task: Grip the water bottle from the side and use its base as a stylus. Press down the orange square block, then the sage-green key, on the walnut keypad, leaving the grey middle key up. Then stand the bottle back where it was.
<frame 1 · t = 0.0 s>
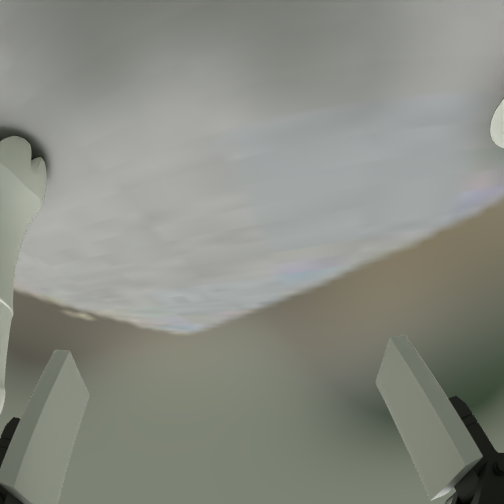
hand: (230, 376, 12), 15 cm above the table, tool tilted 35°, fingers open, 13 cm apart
water bottle: (16, 157, 19), on the table
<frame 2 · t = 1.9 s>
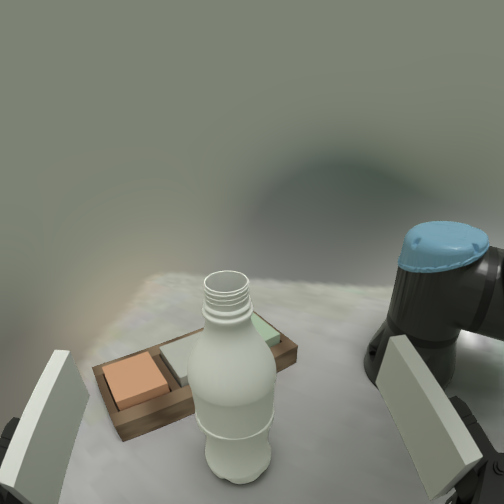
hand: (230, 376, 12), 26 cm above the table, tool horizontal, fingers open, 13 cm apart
water bottle: (239, 465, 32), on the table
key middle: (193, 359, 44), point 4 cm above the table, slide at 0.0 cm
keypad: (196, 377, 45), on the table
key sage: (246, 337, 48), point 4 cm above the table, slide at 0.0 cm
orange square block: (135, 382, 39), point 4 cm above the table, slide at 0.0 cm
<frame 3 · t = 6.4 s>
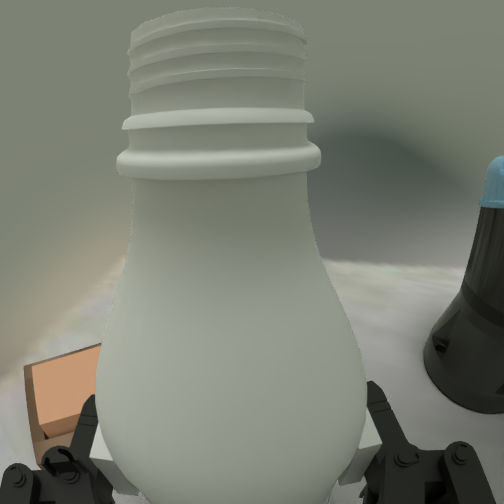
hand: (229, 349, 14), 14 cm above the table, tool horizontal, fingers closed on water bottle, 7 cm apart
keypad: (176, 388, 28), on the table
orange square block: (77, 393, 22), point 4 cm above the table, slide at 0.0 cm
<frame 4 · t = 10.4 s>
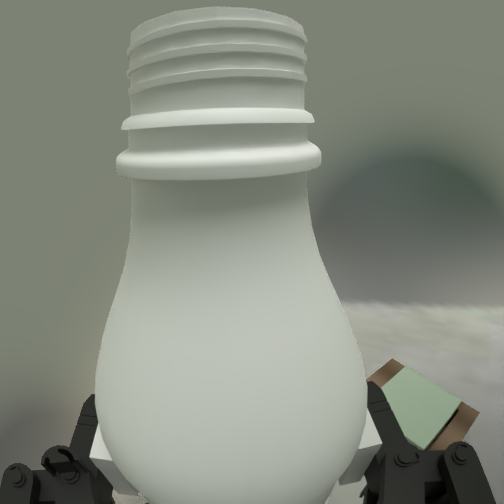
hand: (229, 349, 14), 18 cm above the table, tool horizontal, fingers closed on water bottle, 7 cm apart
key middle: (343, 473, 20), point 4 cm above the table, slide at 0.0 cm
keypad: (334, 490, 21), on the table
key sage: (410, 413, 24), point 4 cm above the table, slide at 0.0 cm
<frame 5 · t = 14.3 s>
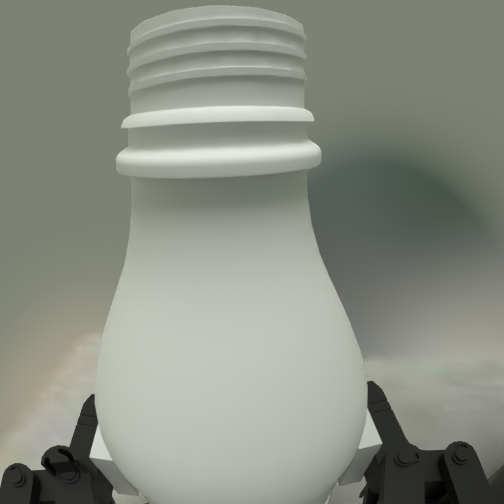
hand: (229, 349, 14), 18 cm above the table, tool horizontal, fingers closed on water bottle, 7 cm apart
when the fingers open (15 cm above the table, at t = 18.3 s): water bottle drops 1 cm, on the table.
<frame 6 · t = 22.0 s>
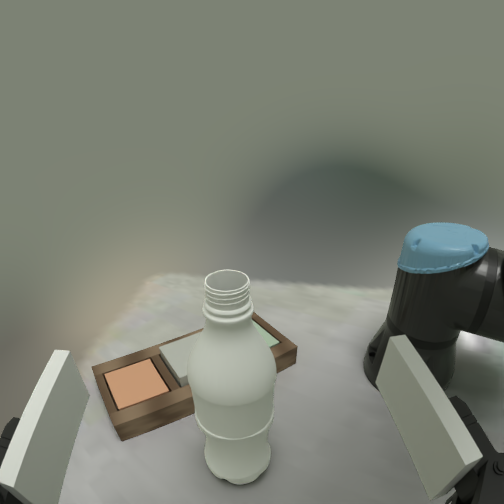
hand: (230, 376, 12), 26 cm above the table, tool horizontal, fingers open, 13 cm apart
water bottle: (238, 465, 32), on the table
key middle: (193, 360, 44), point 4 cm above the table, slide at 0.0 cm
keypad: (195, 377, 45), on the table
key sage: (246, 345, 49), point 2 cm above the table, slide at 1.5 cm
orange square block: (137, 389, 40), point 2 cm above the table, slide at 1.5 cm
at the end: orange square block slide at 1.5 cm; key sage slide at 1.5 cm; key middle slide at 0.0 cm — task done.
